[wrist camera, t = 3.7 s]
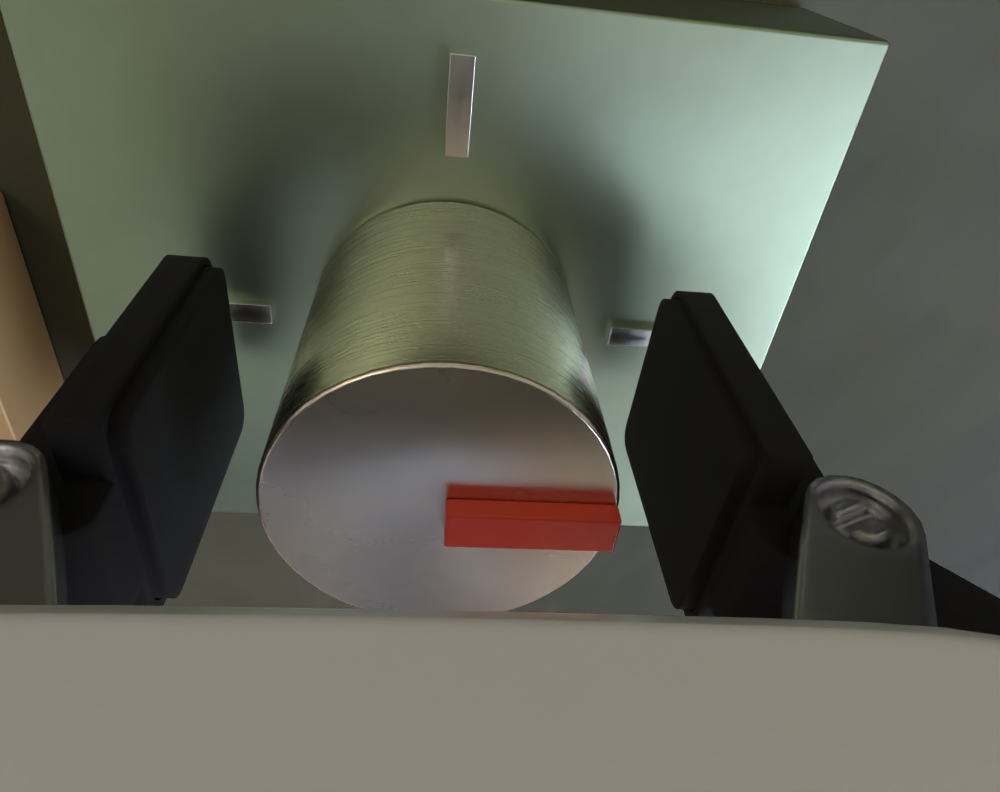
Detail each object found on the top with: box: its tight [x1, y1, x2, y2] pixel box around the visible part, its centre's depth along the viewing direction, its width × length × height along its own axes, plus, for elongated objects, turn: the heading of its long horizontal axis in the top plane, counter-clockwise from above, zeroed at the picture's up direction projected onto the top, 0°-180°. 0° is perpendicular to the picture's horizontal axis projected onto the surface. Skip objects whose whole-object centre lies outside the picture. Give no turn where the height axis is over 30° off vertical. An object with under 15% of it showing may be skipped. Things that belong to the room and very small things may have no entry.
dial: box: [256, 202, 622, 612], centre depth 10 cm, size 4×4×5 cm
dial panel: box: [0, 0, 890, 527], centre depth 13 cm, size 12×10×3 cm
